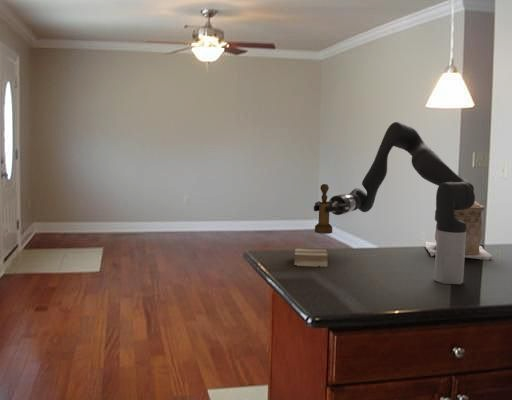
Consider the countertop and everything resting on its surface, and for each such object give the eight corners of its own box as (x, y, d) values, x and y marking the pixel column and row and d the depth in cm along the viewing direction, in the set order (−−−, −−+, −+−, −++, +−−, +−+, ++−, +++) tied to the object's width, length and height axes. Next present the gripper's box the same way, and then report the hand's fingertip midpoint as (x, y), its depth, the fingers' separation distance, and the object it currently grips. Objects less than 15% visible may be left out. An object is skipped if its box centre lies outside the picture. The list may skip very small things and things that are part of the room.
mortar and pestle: (333, 234, 212) (334, 185, 210) (315, 233, 212) (316, 185, 210) (331, 230, 219) (332, 183, 216) (314, 230, 219) (315, 183, 216)
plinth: (327, 266, 212) (327, 256, 211) (294, 265, 213) (294, 254, 212) (326, 259, 224) (326, 249, 223) (295, 258, 225) (295, 248, 224)
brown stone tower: (493, 261, 228) (498, 180, 224) (428, 257, 233) (433, 177, 229) (482, 249, 252) (487, 175, 249) (423, 245, 257) (427, 173, 253)
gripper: (326, 193, 229) (303, 197, 215) (359, 196, 221) (337, 200, 207) (325, 211, 230) (303, 217, 216) (358, 215, 222) (337, 221, 208)
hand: (320, 209), depth 212 cm, fingers closed on mortar and pestle, 4 cm apart
